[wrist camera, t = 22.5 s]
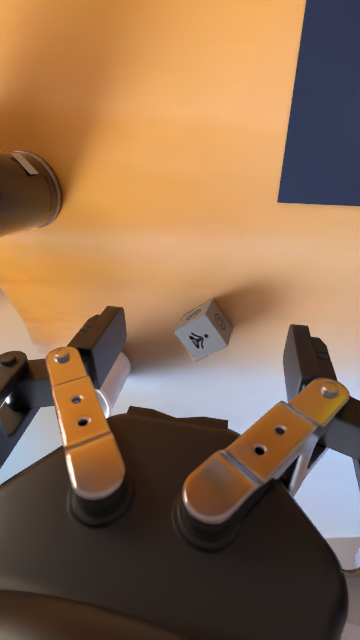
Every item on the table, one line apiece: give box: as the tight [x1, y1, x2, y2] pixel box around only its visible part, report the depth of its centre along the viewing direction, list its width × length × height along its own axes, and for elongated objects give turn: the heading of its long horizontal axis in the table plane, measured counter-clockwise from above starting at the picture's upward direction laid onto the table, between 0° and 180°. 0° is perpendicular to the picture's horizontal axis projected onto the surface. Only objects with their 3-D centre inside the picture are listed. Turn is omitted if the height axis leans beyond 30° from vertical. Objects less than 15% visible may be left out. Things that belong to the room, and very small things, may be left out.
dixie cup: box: [95, 352, 131, 418], centre depth 48 cm, size 8×8×10 cm
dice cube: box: [174, 299, 233, 361], centre depth 42 cm, size 5×5×5 cm
